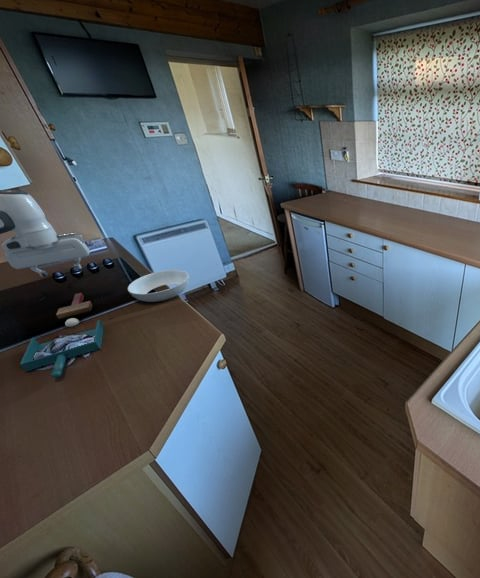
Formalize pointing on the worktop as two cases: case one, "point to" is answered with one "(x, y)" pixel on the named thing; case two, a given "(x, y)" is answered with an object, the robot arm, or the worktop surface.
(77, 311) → the brush
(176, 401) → the worktop surface
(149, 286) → the serving bowl
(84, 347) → the dustpan
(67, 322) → the paper wad
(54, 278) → the worktop surface
